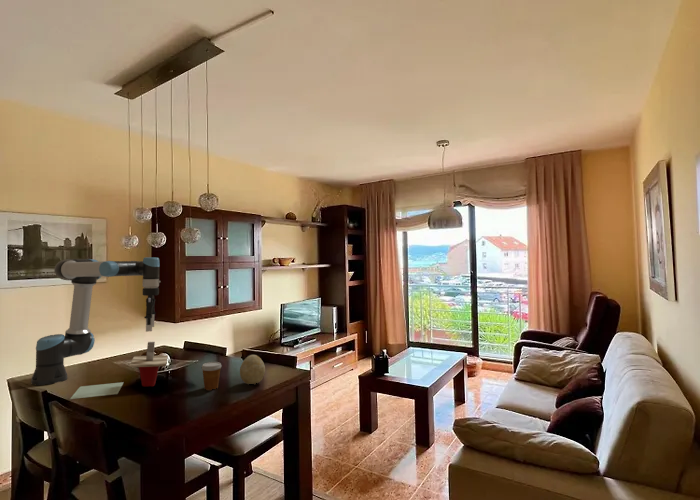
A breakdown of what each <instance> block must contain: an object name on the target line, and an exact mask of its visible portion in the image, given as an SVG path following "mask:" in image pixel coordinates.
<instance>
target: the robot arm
mask: <svg viewBox="0 0 700 500" xmlns="http://www.w3.org/2000/svg"><path fill="white" fill-rule="evenodd" d="M160 266H161V265H160V258H159V257H154V256H153V257H150V256H148V257H143V258H142V260H141V261H140V260H126V261H125V260H122V261H120V260H105V261H98V260H97V259H92V258H67V259H62V260H60V261H58V262H57V263H56V264H55V266H54V269H53V271H54V275H55V276H56V277H57V278H58V279H61V280H63V281H71V282H70V283H71V284H72V285H73V291H72V292H73V293H72V301H71V310H70V320H69V328H68V329H66V330H65V335H64V334H63V333H58V334H57V333H56V334H50V335H49V334H48V335H45V336H42V337H41V338H39V339H37V341H36V345H35V370H34V372H33V374H32V376H31V380H30V384H31V383H32V384H36V385H35V386H46V385H45V384H48V385H53V384H56V383H59V382H64V381H66V380H68V372H67V370H66V367H65V364H64V363H65V362H64V359H66V358H69V357H74V356H80V355H83V354H86V353H88V352H90V351H91V350H92V349H93V348H94V345H95V343H96V341H95V336H94V334H93V333H92V331H91V329H90V328H89V322H90V321H89V320H90V311H91V303H92V295H93V287H94V286H95V285H96V284H97V280H100V279H101V277H105V278H106V277H107V278H109V277H110V278H112V277H128V276H129V277H130V276H131V277H132V276H133V277H135V276H142V287H143V288H142V295H143V296H144V297H146V296H147V298H146V299H145V302H146V303H145V306H146V309H145V310H146V311H145V316H144V318H143V319H145V332H146V333H147V332H152V331H153V328H154V327H155V315H156V311H155V306H156V298H155V296H158V295H159V294H160V288H159V286H160V283H161V280H160ZM32 384H31V385H32Z"/></svg>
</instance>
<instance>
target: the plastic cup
mask: <svg viewBox="0 0 700 500" xmlns="http://www.w3.org/2000/svg"><path fill="white" fill-rule="evenodd" d="M159 368H160V366H154V367H138V369H139V376H140V381H141V382H140V383H141V386H142V387H148V388H149V387H151V388H152V387H154V386H156V384H157V383H156V381H157V378H158V373H159Z"/></svg>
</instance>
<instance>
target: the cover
mask: <svg viewBox="0 0 700 500" xmlns="http://www.w3.org/2000/svg"><path fill="white" fill-rule="evenodd" d="M155 344H156V343H155V341H147V344H146V345H147V346H146V355H134V356H133V358H132V359H131V361H130V363H129V368H139V367H154V366H159V367H166V366H167V362H168V358H169V355H168V354H167V355H155V353H154V352H155Z"/></svg>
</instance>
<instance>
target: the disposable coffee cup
mask: <svg viewBox="0 0 700 500" xmlns="http://www.w3.org/2000/svg"><path fill="white" fill-rule="evenodd" d="M222 366H223V365H222V363H221V362H218V361H210V362H206V363H203V364H202V365H201V370H202V377H203V387H204V390H205V389H206V390H205V391H213V390H212V389H215V390H217V389H218V388H219V383H220V375H221V369H222ZM216 388H217V389H216Z"/></svg>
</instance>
